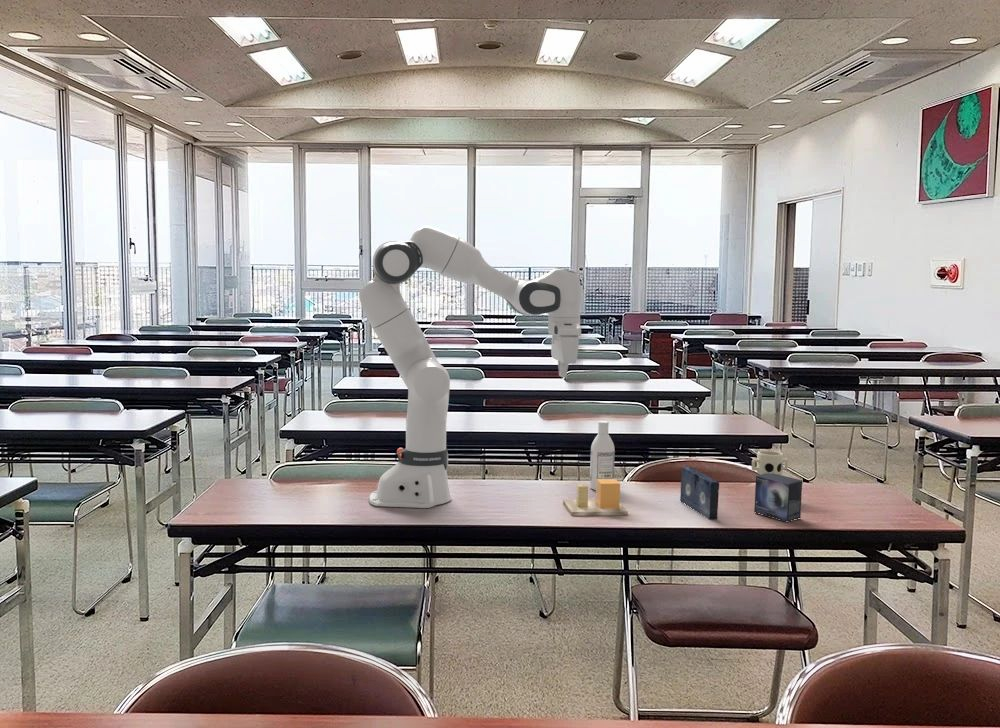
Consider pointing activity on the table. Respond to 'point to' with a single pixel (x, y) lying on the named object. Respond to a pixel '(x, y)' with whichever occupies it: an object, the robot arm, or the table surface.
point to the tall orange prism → (608, 493)
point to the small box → (778, 496)
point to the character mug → (769, 462)
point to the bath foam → (602, 456)
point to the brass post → (582, 495)
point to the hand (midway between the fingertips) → (562, 376)
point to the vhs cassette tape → (699, 492)
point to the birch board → (592, 509)
